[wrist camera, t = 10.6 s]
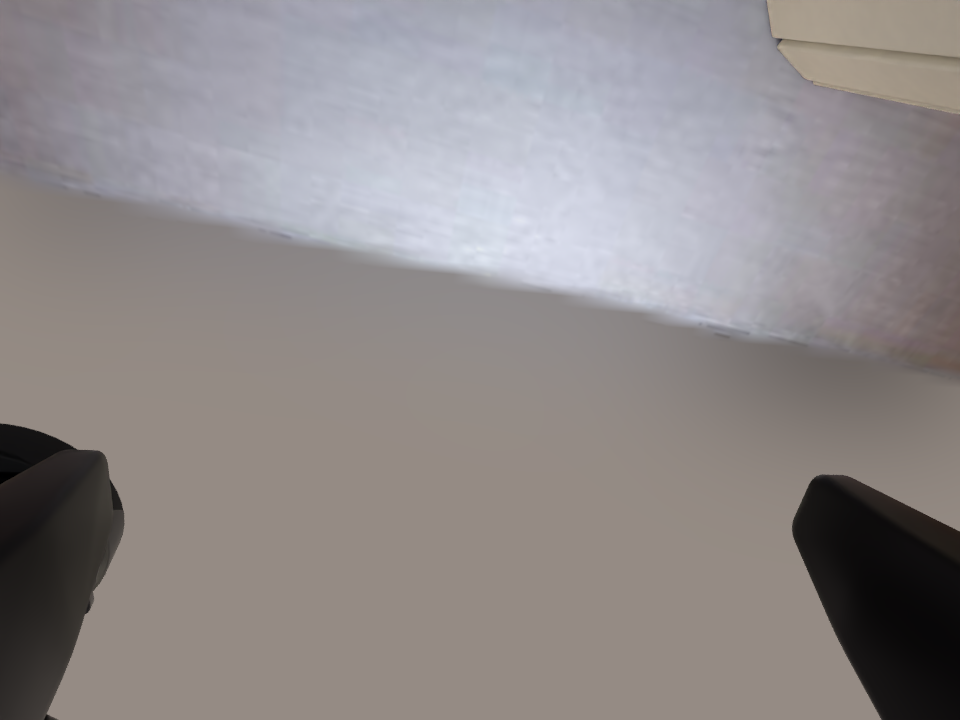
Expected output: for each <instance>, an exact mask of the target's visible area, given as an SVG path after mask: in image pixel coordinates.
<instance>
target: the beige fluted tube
mask: <svg viewBox="0 0 960 720" xmlns="http://www.w3.org/2000/svg"><path fill="white" fill-rule="evenodd" d="M767 7H768V13H769V20H770V27H771V33H772V36H773V38H781V39H783V40H782V41H781V42H780V43H779V44H778V46H777V48H778V50H779V51H780V52H781V53H782V54H783V55H784V56H785V58H786V59H787V60H788V61H789V62H790V63H791V64H792V65H793V67H794V68H795V69H796V70H797V71H798V72H799V73H800V74H801V75H802V77H803V78H804V79H806V80H811V81H813V84H814V85H818V86H823V87H827V88H832V89H837V90H842V91H847V92H852V93H857V94H862V95H866V96H871V97H876V98H881V99H886V100H891V101H896V102H901V103H906V104H910V105H915V106H920V107H925V108H930V109H935V110H940V111H945V112H950V113H954V114H959V115H960V0H767Z"/></svg>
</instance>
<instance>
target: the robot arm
mask: <svg viewBox="0 0 960 720" xmlns="http://www.w3.org/2000/svg"><path fill="white" fill-rule="evenodd" d="M112 521H113V503H112V495H111V487H110V479H109V471H108V463H107V459H106V457H105V455H104V454H103V453H102V452H100V451H93V450H62V451H60V452H58V453H55V454H54V455H52V456H50V457H48V458H47V459H45V460H43V461H41V462H39V463H38V464H36V465H34V466H32V467H31V468H29V469H27V470H25V471H23V472H22V473H21V472H0V720H57V719H55V718H53V717H51V716H49V715H47V711H48V709H49V707H50V705H51V703H52V700H53V698H54V696H55V693H56V691H57V689H58V686H59V685H60V682H61V680H62V678H63V675H64V673H65V670H66V668H67V665H68V663H69V661H70V658H71V655H72V653H73V650H74V647H75V644H76V641H77V638H78V635H79V632H80V629H81V625H82V622H83V619H84V615H85V614H86V613H88V611H89V610H90V608H91V606H92V604H93V601H94V596H93V589H94V587H95V585H96V582H97V573H98V570H99V567H100V564H101V560H102V557H103V554H104V551H105V547H106V544H107V541H108V538H109V534H110V531H111V527H112ZM792 532H793V537H794V540H795V543H796V545H797V547H798V549H799V552H800V554H801V556H802V559H803V561H804V563H805V566H806V568H807V570H808V572H809V575H810V577H811V579H812V581H813V584H814V586H815V588H816V591H817V593H818V595H819V598H820V600H821V602H822V605H823V607H824V609H825V612H826V614H827V616H828V618H829V621H830V623H831V625H832V627H833V629H834V632H835V634H836V636H837V638H838V640H839V642H840V644H841V646H842V647H843V650H844V652H845V654H846V656H847V657H848V659H849V661H850V663H851V665H852V666H853V668H854V670H855V672H856V674H857V676H858V678H859V679H860V681H861V683H862V685H863V686H864V688H865V690H866V692H867V694H868V696H869V697H870V699H871V701H872V703H873V705H874V707H875V709H876V710H877V712H878V714H879V716H880V718H881V720H960V532H959V531H957V530H955V529H953V528H951V527H949V526H947V525H945V524H943V523H941V522H939V521H937V520H935V519H933V518H931V517H929V516H927V515H925V514H923V513H921V512H919V511H917V510H915V509H913V508H911V507H909V506H907V505H905V504H903V503H901V502H899V501H897V500H895V499H893V498H891V497H889V496H887V495H885V494H883V493H881V492H879V491H877V490H875V489H873V488H871V487H869V486H867V485H865V484H863V483H861V482H859V481H857V480H855V479H853V478H851V477H848V476H844V475H819V476H816V477H815V478H814V479H813V480H812V481H811V483H810V484H809V486H808V489H807V491H806V493H805V495H804V497H803V499H802V502H801V504H800V506H799V508H798V511H797V513H796V515H795V517H794V520H793V525H792Z"/></svg>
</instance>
